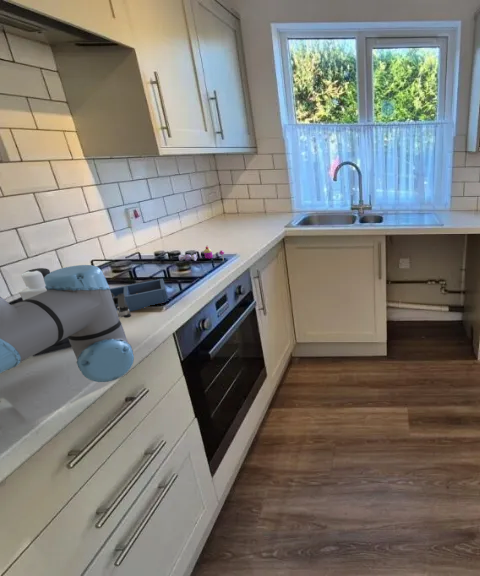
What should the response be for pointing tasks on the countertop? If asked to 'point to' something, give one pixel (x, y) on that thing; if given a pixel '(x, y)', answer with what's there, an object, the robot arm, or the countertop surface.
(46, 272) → the medicine bottle
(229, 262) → the countertop surface
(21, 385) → the countertop surface
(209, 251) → the set of multicoloured pieces
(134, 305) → the rack
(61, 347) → the control block
